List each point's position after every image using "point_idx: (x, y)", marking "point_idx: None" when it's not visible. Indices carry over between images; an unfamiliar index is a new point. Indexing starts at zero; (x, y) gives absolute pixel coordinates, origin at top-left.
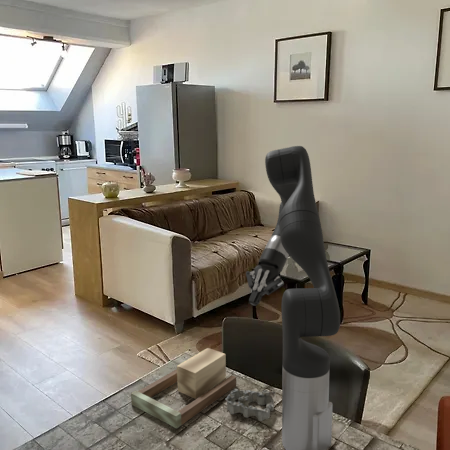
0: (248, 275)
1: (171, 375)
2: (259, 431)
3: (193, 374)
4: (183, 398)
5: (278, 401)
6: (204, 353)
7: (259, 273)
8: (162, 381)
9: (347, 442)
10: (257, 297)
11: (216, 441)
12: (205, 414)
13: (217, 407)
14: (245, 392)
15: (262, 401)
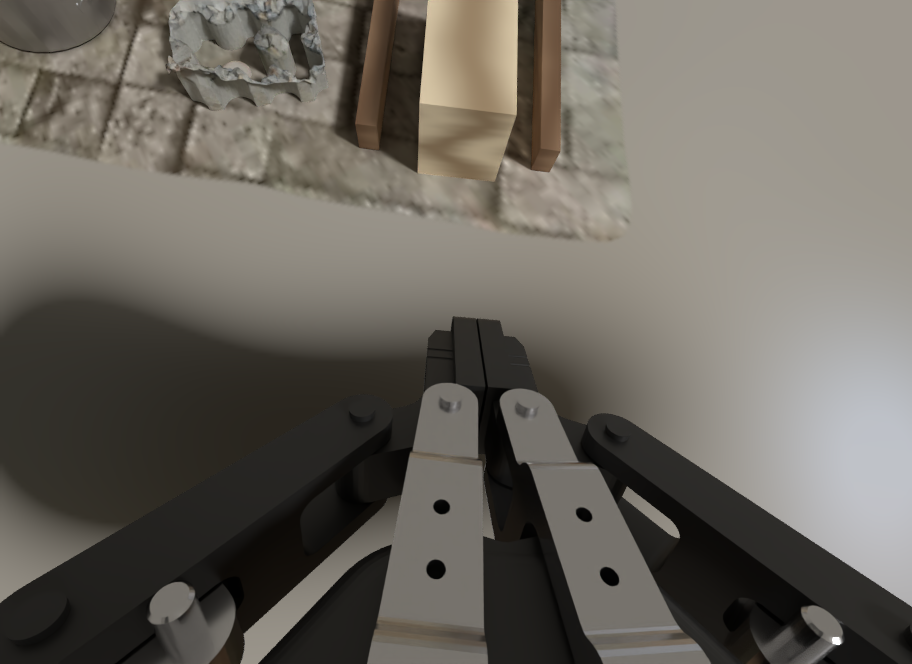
0: (828, 581)
1: (545, 49)
2: None
3: None
4: None
5: (192, 135)
6: (495, 73)
7: (633, 640)
8: (542, 15)
9: None
10: (440, 360)
11: None
12: (361, 7)
13: (349, 41)
14: (282, 71)
15: (226, 88)
